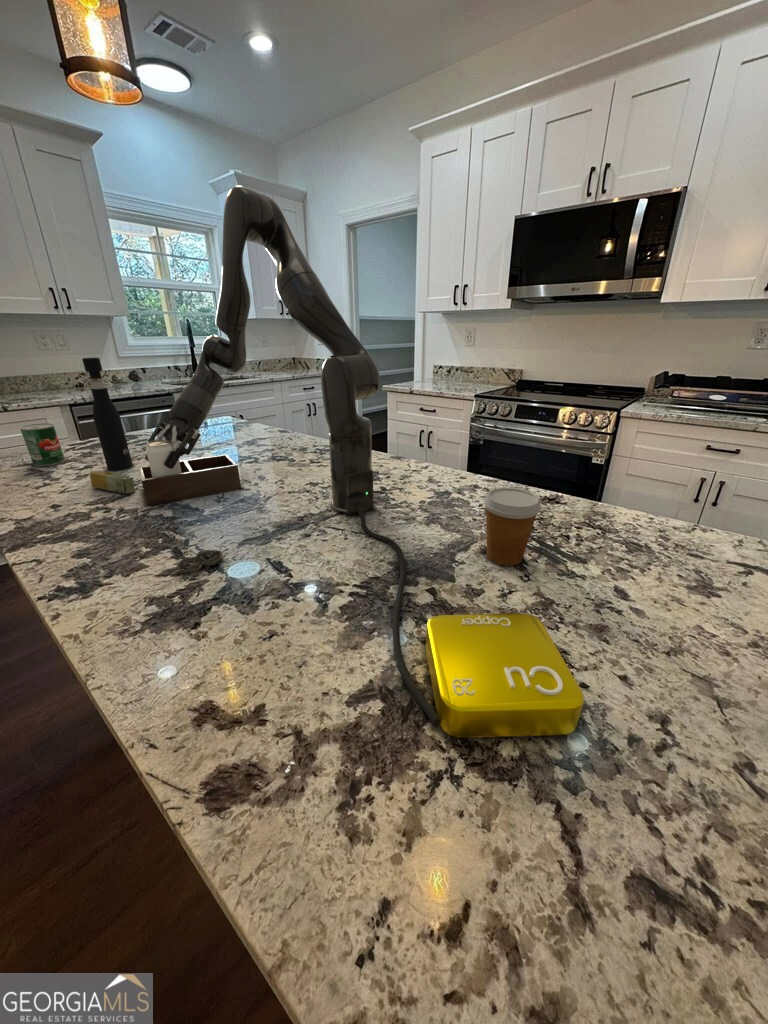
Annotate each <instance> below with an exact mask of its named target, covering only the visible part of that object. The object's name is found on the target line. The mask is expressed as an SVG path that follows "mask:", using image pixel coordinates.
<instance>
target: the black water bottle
mask: <svg viewBox="0 0 768 1024" xmlns="http://www.w3.org/2000/svg"><path fill="white" fill-rule="evenodd" d="M81 361H82V364H83V366H84V370H85V372H86V373H88V374H89V379H90V380H91V381H90V384H89V385H90V387H91V389H90V391H91V396H92V398H93V404H92V417H93V418H92V419H93V423H94V426H95V430H96V433H97V437H98V439H99V443H100V446H101V450H102V454H103V457H104V460H105V465H106V468H107V470H108V471H123V470H127V469H130V468H132V467H133V466H134V465H133V461H132V457H131V453H130V449H129V445H128V442H127V436H126V434H125V430H124V425H123V422H122V418H121V415H120V413H119V411H118V409H117V407H116V405H115V404H114V402H113V401H112V399H111V398H110V394H109V389H108V388H107V387H106V382H105V381H104V380H102V379H103V377H102V374H101V372H103V371H104V369H103V367H102V362H101V359H100V357H83V358H81Z"/></svg>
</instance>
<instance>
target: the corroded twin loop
mask: <svg viewBox="0 0 768 1024" xmlns="http://www.w3.org/2000/svg"><path fill="white" fill-rule="evenodd" d="M222 556H223V551H222V550H218V549H207V550H202V551H199V552H198V553H197V554H196V555H195V556H193V557H192V556H191V557H190V556H189V557H185V558H182V559H180V561H178V562H177V563H176V569H177V570H178V571H179V572H180V573H195V572H198V571H200V570H201V569H202V567H210V566H215V565H217V564H218V563H219V562H220V560H221V558H222ZM206 558H207V559H206ZM192 564H193V565H192Z"/></svg>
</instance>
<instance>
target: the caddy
mask: <svg viewBox="0 0 768 1024" xmlns="http://www.w3.org/2000/svg"><path fill="white" fill-rule="evenodd" d="M179 463H180V467H181V472H182V473H180V474H174V475H167V476H161V477H155V478H153V477H152V473H151V469H150V465H144V466H143V465H142V466H138V467H137V470H138V474H139V477H140V481H141V485H142V490H143V493H144V497H145V502H146V504H147V507H151V506H155V505H161V504H165V503H166V504H167V503H172V502H176V501H182V500H188V499H193V498H199V497H203V496H209V495H213V494H220V493H224V492H225V493H226V492H230V491H235V490H240V489H242V485H241V478H240V477H241V476H240V473H239V472H240V471H239V465H238V464H237V463H236V462H235V461H234V459H232V457H231V456H230V455H229V454H228V453H226V454H220V455H212V456H205V457H198V458H192V459H184V460H179Z"/></svg>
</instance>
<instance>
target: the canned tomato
mask: <svg viewBox="0 0 768 1024" xmlns="http://www.w3.org/2000/svg"><path fill="white" fill-rule="evenodd" d="M19 430H20V432H21V435H22V438H23V440H24V443H25V446H26V449H27V451H28V454H29V457H30V459H31V462H32V465H33V466H34V467H49V466H55V465H59V464H62V463H64V462H66V458H65V455H64V451H63V448H62V446H61V442H60V440H59V436H58V433H57V431H56V427H55V424H54V423H50V422H49V423H48V422H47V423H46V422H45V423H44V422H43V423H42V422H41V423H33V424H27V425H23V426H20V427H19Z"/></svg>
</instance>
